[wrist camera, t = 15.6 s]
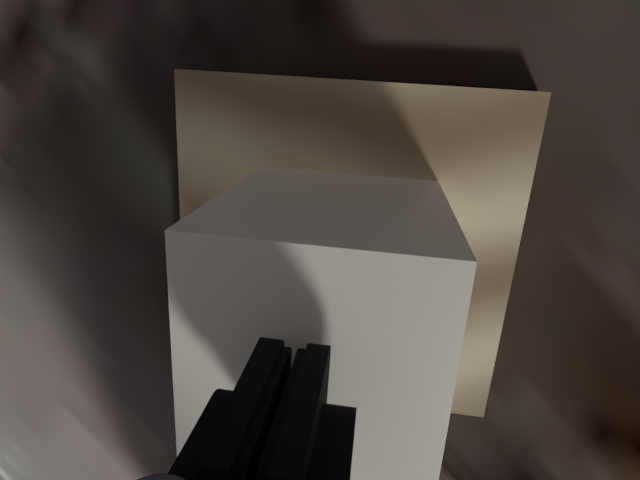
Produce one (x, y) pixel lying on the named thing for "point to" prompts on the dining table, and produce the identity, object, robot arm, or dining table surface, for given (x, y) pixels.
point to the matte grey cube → (328, 302)
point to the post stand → (380, 164)
